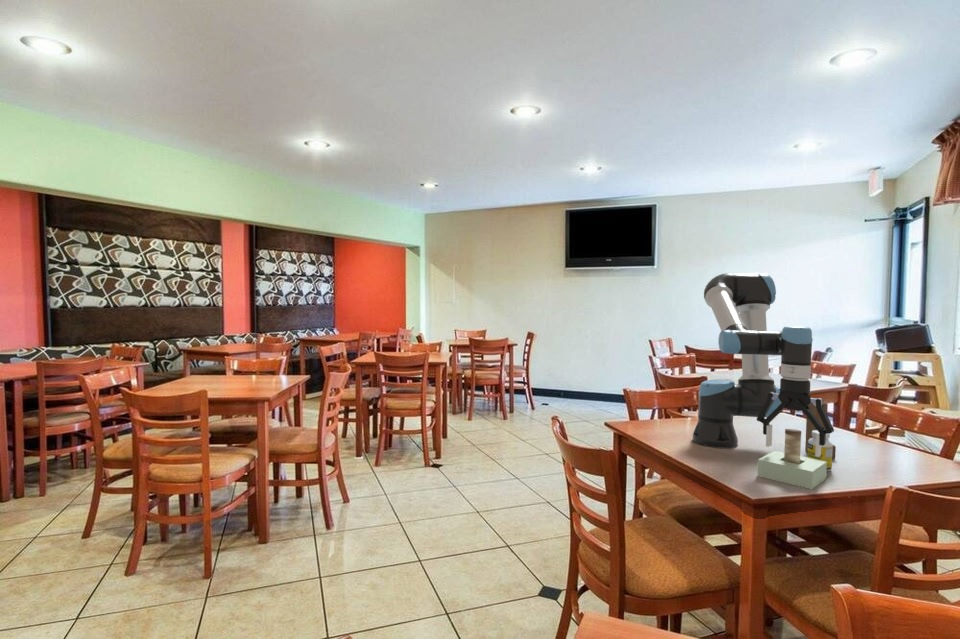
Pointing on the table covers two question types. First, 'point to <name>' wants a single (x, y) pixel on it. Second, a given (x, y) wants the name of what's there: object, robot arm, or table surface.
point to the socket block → (792, 470)
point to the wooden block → (811, 427)
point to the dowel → (792, 446)
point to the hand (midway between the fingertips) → (792, 450)
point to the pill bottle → (825, 450)
